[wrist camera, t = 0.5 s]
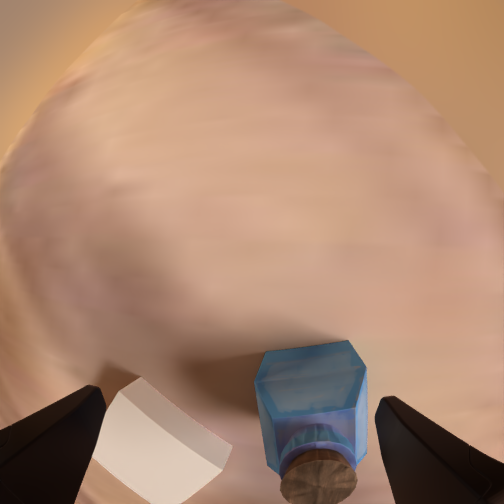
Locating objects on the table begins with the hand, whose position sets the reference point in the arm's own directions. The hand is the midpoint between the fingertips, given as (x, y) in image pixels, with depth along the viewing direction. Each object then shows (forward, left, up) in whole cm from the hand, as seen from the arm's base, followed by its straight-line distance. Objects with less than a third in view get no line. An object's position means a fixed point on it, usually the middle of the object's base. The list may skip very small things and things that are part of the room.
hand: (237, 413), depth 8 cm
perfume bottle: (-5, +2, -14) cm, 15 cm away
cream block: (+1, +16, -14) cm, 21 cm away
